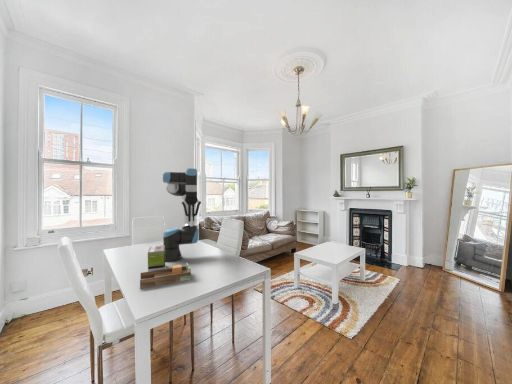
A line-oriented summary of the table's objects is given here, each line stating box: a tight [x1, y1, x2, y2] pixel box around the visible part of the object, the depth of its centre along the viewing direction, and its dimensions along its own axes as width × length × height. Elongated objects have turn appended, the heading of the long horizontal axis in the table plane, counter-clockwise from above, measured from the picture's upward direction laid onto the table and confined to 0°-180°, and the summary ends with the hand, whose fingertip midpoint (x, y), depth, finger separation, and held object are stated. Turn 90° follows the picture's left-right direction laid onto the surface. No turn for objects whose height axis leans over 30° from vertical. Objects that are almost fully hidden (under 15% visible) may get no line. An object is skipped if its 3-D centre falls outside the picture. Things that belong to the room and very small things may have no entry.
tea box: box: [147, 245, 166, 272], centre depth 147 cm, size 15×10×15 cm, turn 21°
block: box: [171, 264, 182, 274], centre depth 136 cm, size 5×5×4 cm
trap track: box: [139, 262, 192, 289], centre depth 131 cm, size 12×27×6 cm, turn 116°
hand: (191, 226), depth 148 cm, fingers closed
